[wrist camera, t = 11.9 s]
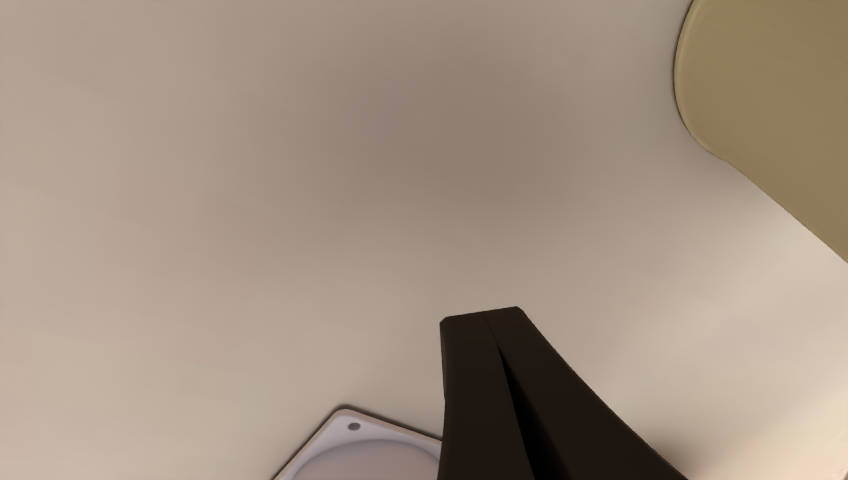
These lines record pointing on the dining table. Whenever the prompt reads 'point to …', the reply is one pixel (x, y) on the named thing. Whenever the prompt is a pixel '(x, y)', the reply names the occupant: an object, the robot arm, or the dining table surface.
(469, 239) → the dining table surface
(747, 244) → the dining table surface
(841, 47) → the can
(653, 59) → the dining table surface
